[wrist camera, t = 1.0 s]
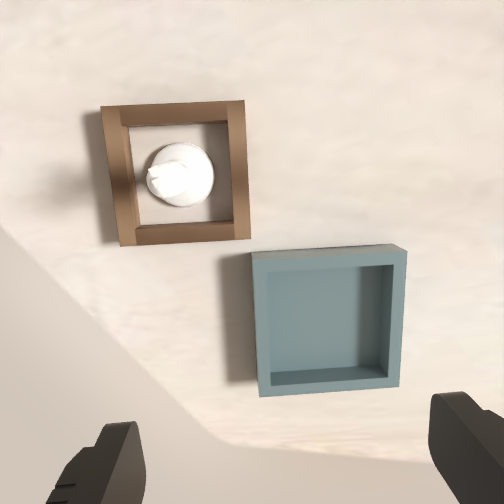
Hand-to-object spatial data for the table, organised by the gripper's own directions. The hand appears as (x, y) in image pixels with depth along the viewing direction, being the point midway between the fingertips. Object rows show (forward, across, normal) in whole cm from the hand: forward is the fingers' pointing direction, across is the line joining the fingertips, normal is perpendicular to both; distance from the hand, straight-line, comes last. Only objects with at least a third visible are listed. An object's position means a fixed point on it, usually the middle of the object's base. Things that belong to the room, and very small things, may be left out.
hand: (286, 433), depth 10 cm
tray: (+21, -6, +7) cm, 23 cm away
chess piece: (+21, +5, -6) cm, 23 cm away
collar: (+21, +5, -6) cm, 22 cm away
